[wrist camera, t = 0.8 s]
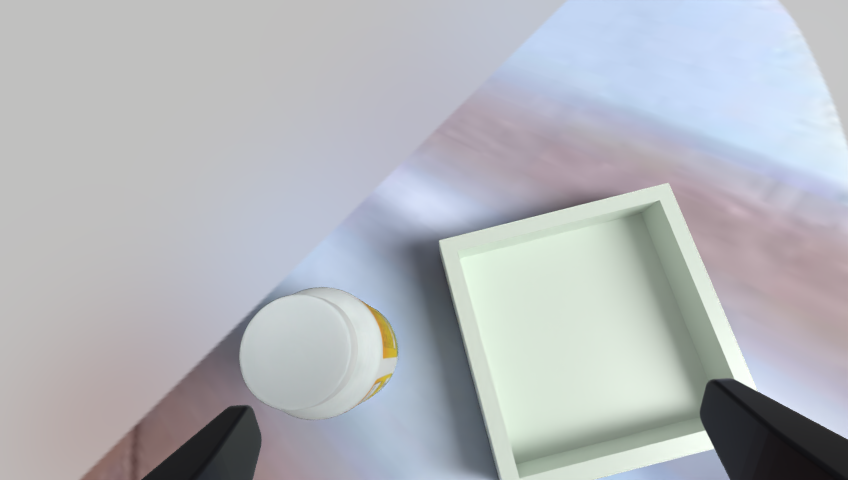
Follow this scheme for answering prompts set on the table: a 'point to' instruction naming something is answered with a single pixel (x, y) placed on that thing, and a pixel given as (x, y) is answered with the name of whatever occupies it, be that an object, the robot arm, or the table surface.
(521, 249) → the tray
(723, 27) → the table surface
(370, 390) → the supplement bottle
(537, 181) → the table surface
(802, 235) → the table surface
